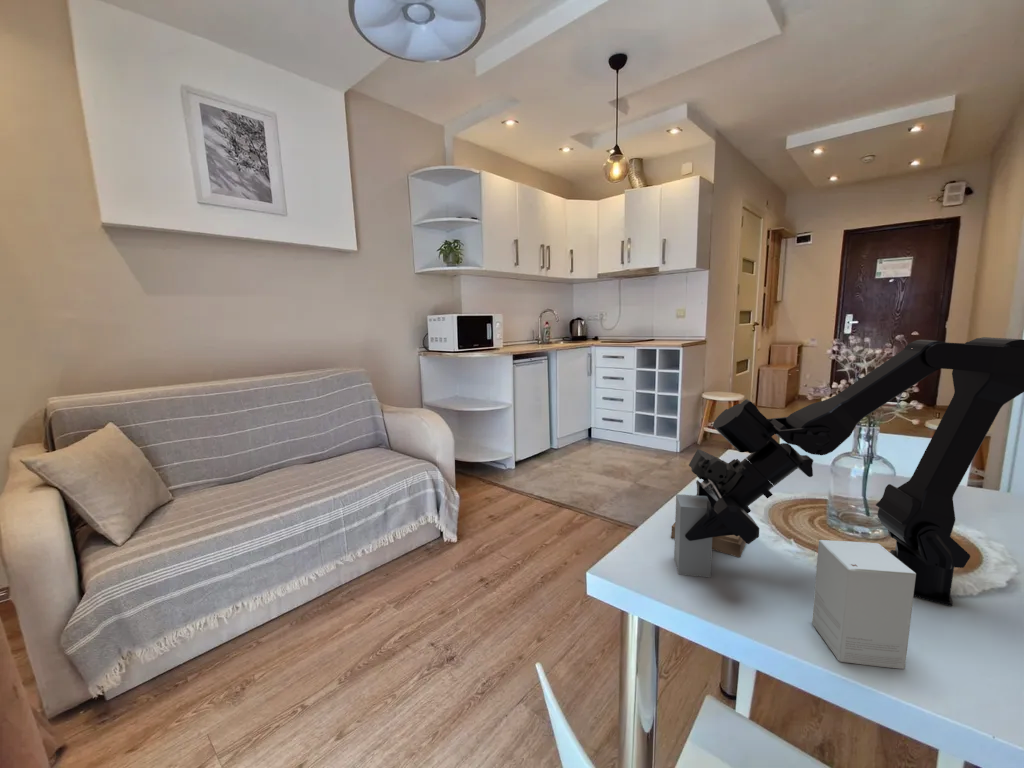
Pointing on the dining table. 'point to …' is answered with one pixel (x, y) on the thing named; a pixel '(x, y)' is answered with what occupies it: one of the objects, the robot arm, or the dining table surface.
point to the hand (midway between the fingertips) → (684, 530)
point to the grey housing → (697, 552)
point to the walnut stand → (724, 543)
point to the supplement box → (863, 603)
